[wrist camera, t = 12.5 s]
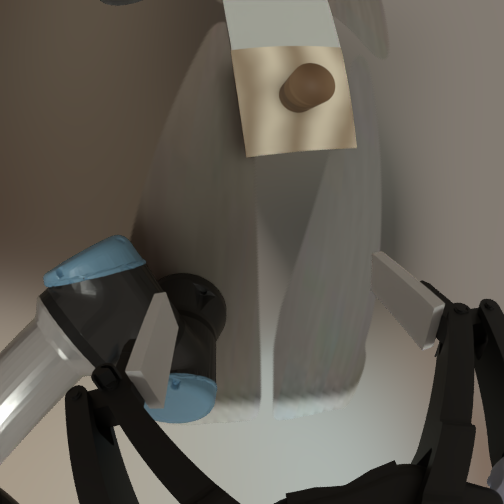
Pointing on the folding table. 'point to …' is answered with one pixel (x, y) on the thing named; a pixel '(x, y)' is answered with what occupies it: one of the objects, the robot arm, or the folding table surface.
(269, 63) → the lid
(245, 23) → the mat
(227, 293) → the folding table surface
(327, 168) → the folding table surface
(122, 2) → the tankard
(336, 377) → the folding table surface
